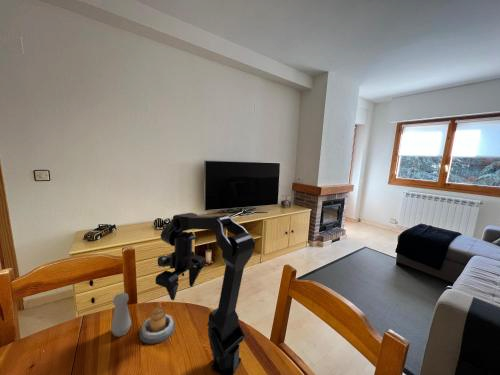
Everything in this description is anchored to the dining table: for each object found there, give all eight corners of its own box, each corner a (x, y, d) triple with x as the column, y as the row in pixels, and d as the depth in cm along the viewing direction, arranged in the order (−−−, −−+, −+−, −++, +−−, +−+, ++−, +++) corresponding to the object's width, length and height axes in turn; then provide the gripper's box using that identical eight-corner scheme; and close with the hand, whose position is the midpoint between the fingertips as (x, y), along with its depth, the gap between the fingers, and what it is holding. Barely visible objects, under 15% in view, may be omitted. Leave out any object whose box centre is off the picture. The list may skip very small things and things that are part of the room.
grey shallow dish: (181, 325, 75) (182, 319, 75) (156, 349, 65) (156, 342, 65) (158, 315, 79) (159, 308, 79) (132, 335, 69) (131, 328, 69)
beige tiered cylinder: (168, 325, 73) (168, 307, 73) (157, 335, 69) (157, 316, 68) (158, 320, 75) (158, 302, 75) (146, 330, 71) (146, 311, 70)
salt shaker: (135, 326, 73) (134, 291, 72) (123, 340, 68) (123, 302, 66) (119, 324, 74) (118, 289, 73) (106, 337, 68) (105, 299, 67)
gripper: (183, 237, 84) (183, 274, 86) (143, 254, 67) (143, 300, 69) (207, 243, 80) (205, 282, 82) (169, 262, 63) (168, 311, 65)
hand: (182, 292), depth 74 cm, fingers open, 9 cm apart
